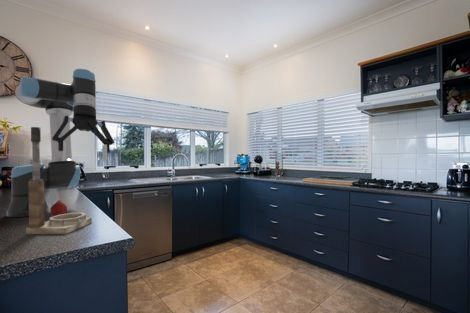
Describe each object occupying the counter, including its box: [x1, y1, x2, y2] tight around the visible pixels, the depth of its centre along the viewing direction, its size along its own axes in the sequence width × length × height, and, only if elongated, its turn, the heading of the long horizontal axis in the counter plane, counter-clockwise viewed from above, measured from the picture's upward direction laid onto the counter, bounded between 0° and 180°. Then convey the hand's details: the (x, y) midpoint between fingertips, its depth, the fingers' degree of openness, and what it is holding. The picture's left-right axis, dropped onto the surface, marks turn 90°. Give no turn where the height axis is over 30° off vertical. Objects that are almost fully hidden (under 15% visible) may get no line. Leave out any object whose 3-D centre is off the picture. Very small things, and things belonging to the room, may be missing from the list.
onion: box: [49, 199, 68, 217], centre depth 104 cm, size 6×6×8 cm
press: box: [25, 126, 92, 235], centre depth 90 cm, size 14×14×37 cm
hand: (85, 160), depth 90 cm, fingers open, 13 cm apart
